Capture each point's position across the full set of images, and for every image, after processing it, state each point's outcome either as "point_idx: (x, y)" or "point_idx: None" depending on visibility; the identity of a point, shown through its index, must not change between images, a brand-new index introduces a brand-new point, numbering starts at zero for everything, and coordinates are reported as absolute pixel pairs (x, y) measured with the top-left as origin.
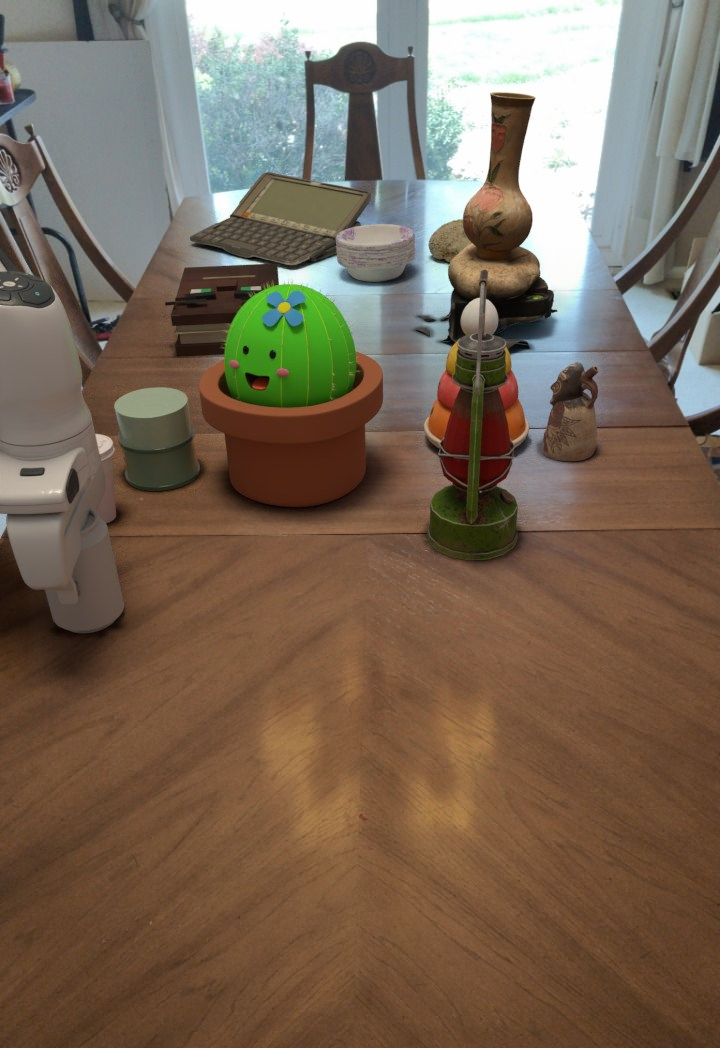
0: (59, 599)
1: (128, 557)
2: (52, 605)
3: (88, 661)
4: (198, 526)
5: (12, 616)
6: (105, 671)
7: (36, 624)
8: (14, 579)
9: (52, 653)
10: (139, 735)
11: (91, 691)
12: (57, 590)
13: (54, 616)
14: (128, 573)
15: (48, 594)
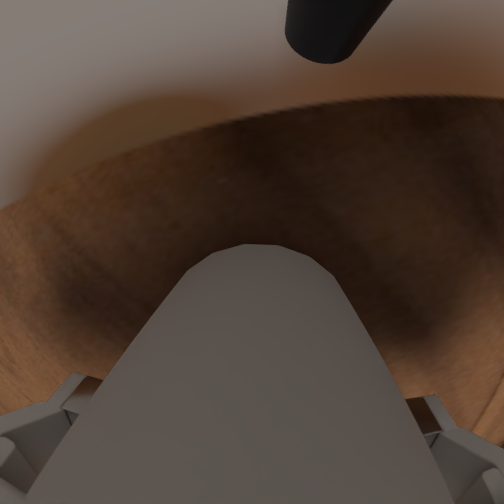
0: (67, 378)
1: (467, 357)
2: (166, 297)
3: (100, 334)
4: (488, 426)
5: (285, 114)
6: (82, 361)
7: (238, 190)
8: (450, 104)
9: (117, 257)
10: (5, 384)
11: (39, 338)
12: (48, 402)
13: (188, 273)
14: (416, 372)
15: (161, 309)
